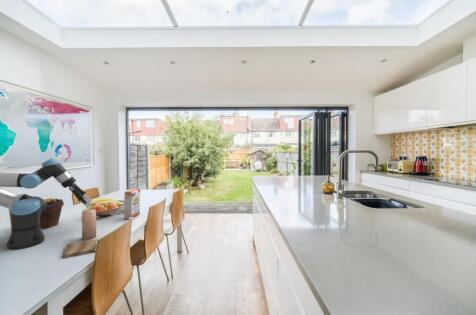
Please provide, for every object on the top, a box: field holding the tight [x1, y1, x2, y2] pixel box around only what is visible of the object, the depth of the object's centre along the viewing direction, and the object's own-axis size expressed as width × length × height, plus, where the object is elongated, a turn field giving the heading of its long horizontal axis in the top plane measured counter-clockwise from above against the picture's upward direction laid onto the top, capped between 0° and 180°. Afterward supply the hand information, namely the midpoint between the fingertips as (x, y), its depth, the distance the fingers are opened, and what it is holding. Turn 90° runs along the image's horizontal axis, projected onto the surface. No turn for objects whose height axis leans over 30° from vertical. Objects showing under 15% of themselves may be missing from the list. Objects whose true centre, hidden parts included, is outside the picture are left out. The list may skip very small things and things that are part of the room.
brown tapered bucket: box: [40, 198, 65, 230], centre depth 150 cm, size 18×20×18 cm
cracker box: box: [123, 188, 141, 220], centre depth 172 cm, size 14×6×21 cm, turn 179°
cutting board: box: [62, 238, 98, 259], centre depth 117 cm, size 14×14×2 cm
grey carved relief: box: [110, 206, 124, 216], centre depth 186 cm, size 16×25×7 cm, turn 125°
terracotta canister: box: [81, 208, 97, 241], centre depth 132 cm, size 7×7×16 cm
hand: (89, 204), depth 149 cm, fingers open, 13 cm apart
